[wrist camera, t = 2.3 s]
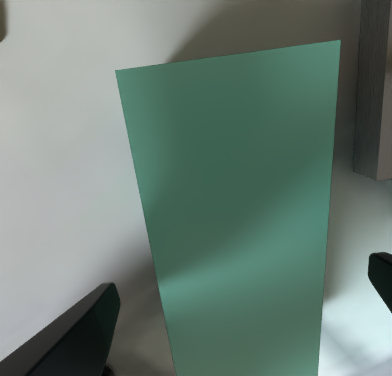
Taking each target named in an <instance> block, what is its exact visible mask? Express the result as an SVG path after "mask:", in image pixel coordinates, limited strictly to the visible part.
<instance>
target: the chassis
mask: <svg viewBox="0 0 392 376" xmlns="http://www.w3.org/2000/svg"><path fill="white" fill-rule="evenodd" d="M353 172H355V173H358V174H361V175H363V176H366V177H368V178H371V179H374V180H376V181H378V180H386V179H392V0H362V2H361V23H360V44H359V65H358V86H357V107H356V129H355V150H354V171H353Z"/></svg>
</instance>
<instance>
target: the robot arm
mask: <svg viewBox="0 0 392 376" xmlns="http://www.w3.org/2000/svg"><path fill="white" fill-rule="evenodd" d="M368 277H369V280H370V282H371V283H372V285H373V286H374V288H375V289H376V291H377V292H378V294H379V295H380V296H381V298H382V299H383V301H384V302H385V304H386V305H387V307H388V308H389V310H390V311H391V313H392V254H389V253H386V252H378V253H372V254H370V256H369V265H368ZM119 310H120V298H119V295H118V292H117V289H116V286H115V284H114V283H113V282H110V283H103V284H101V285H100V286H98V287H97V288H96V289H94V290H93V291H92V292H91V293H89V294H88V295H87V296H85V297H84V298H83V299H81V300H80V301H79V302H78V303H76V304H75V305H74V306H72V307H71V308H70V309H68V310H67V311H66V312H65V313H63V314H62V315H61V316H59V317H58V318H57V319H55V320H54V321H53V322H52V323H50V324H49V325H48V326H46V327H45V328H44V329H42V330H41V331H40V332H38V333H37V334H36V335H35V336H33V337H32V338H31V339H29V340H28V341H27V342H25V343H24V344H23V345H22V346H20V347H19V348H18V349H16V350H15V351H14V352H12V353H11V354H10V355H9V356H7V357H6V358H5V359H3V360H2V361H1V362H0V376H114V374H113V372H112V370H111V369H110V368H109V367H106V366H105V363H106V360H107V357H108V354H109V351H110V347H111V343H112V339H113V335H114V331H115V326H116V322H117V318H118V314H119Z"/></svg>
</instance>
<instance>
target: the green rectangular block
mask: <svg viewBox="0 0 392 376" xmlns="http://www.w3.org/2000/svg"><path fill="white" fill-rule="evenodd" d="M340 45H341V40H335V41H327V42H320V43H313V44H305V45H298V46H291V47H283V48H276V49H269V50H261V51H254V52H247V53H239V54H232V55H225V56H218V57H210V58H203V59H196V60H188V61H181V62H174V63H166V64H159V65H152V66H144V67H137V68H130V69H122V70H115V73H116V78H117V83H118V88H119V93H120V98H121V103H122V108H123V113H124V118H125V123H126V128H127V133H128V138H129V143H130V148H131V153H132V158H133V163H134V168H135V173H136V178H137V183H138V188H139V193H140V198H141V203H142V208H143V212H144V217H145V222H146V227H147V232H148V237H149V242H150V247H151V252H152V257H153V262H154V267H155V272H156V277H157V282H158V287H159V292H160V297H161V302H162V307H163V312H164V317H165V322H166V327H167V332H168V337H169V342H170V347H171V352H172V357H173V362H174V367H175V372H176V376H318V364H319V349H320V335H321V320H322V306H323V291H324V277H325V262H326V248H327V233H328V219H329V204H330V190H331V175H332V161H333V146H334V132H335V117H336V103H337V88H338V74H339V59H340Z"/></svg>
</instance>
